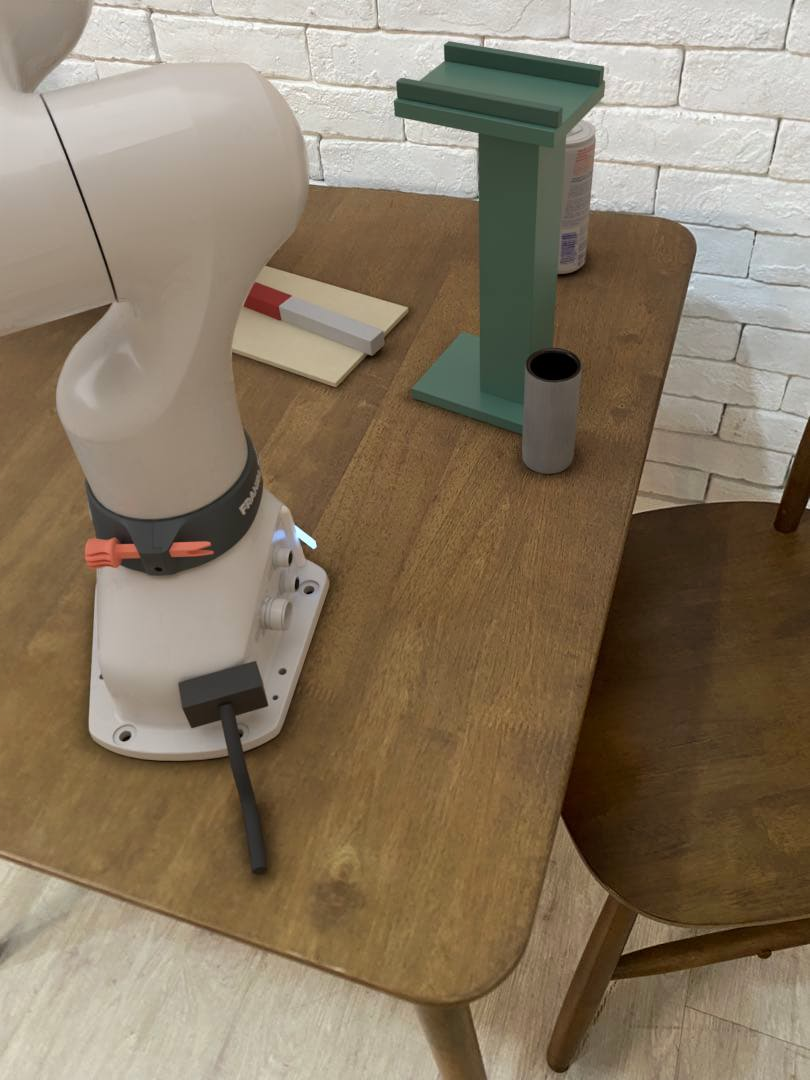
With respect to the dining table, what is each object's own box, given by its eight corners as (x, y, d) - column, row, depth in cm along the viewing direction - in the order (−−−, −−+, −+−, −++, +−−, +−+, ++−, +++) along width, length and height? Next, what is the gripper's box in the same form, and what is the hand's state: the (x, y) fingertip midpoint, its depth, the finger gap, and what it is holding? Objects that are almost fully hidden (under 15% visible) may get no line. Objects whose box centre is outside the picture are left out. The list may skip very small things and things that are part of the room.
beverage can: (584, 249, 105) (595, 115, 94) (585, 277, 102) (597, 141, 90) (534, 249, 106) (539, 116, 95) (533, 277, 102) (539, 142, 91)
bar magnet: (385, 344, 95) (384, 329, 94) (371, 356, 94) (369, 342, 92) (232, 286, 104) (229, 271, 102) (218, 296, 103) (214, 282, 101)
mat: (408, 312, 99) (408, 307, 99) (336, 387, 92) (335, 383, 91) (231, 259, 109) (230, 255, 108) (151, 324, 101) (150, 320, 100)
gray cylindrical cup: (513, 466, 83) (516, 373, 75) (533, 434, 85) (538, 341, 78) (561, 480, 81) (569, 387, 74) (580, 448, 84) (590, 354, 76)
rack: (580, 376, 90) (610, 60, 69) (535, 439, 85) (552, 117, 63) (461, 341, 95) (454, 35, 74) (412, 398, 90) (388, 86, 68)
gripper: (51, 209, 90) (123, 163, 81) (187, 120, 101) (264, 71, 92) (93, 266, 93) (167, 229, 83) (220, 174, 104) (298, 132, 95)
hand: (219, 145), depth 88 cm, fingers open, 8 cm apart
